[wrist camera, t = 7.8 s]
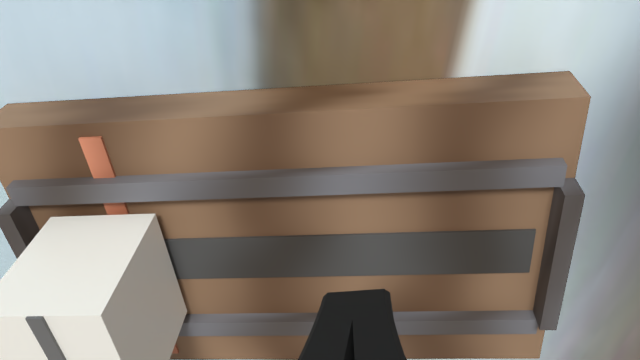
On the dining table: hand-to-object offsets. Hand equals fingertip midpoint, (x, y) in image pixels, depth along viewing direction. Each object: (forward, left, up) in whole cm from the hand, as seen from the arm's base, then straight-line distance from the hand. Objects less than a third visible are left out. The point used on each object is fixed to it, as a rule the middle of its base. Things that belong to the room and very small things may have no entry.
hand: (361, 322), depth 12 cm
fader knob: (+10, +4, -7) cm, 13 cm away
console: (+3, +4, -9) cm, 11 cm away
